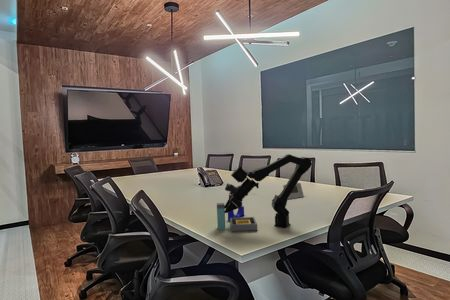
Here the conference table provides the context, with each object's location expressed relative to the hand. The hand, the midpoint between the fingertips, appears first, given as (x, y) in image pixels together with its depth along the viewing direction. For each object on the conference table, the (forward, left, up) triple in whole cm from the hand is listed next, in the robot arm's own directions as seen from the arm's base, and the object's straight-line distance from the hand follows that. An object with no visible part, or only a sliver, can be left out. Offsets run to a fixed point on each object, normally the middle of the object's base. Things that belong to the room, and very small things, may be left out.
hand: (224, 210), depth 156 cm
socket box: (-7, -6, -9) cm, 13 cm away
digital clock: (0, -85, -10) cm, 85 cm away
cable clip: (+5, -19, -10) cm, 22 cm away
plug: (+2, +1, -9) cm, 10 cm away
